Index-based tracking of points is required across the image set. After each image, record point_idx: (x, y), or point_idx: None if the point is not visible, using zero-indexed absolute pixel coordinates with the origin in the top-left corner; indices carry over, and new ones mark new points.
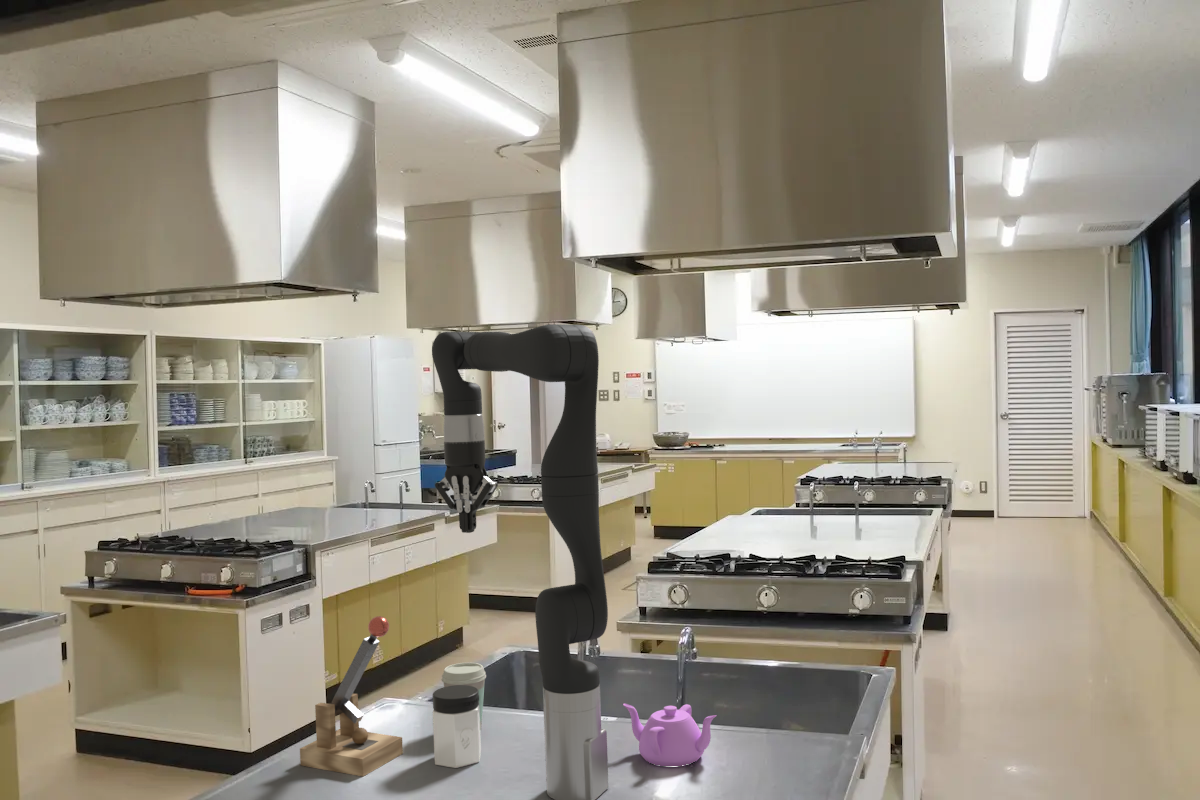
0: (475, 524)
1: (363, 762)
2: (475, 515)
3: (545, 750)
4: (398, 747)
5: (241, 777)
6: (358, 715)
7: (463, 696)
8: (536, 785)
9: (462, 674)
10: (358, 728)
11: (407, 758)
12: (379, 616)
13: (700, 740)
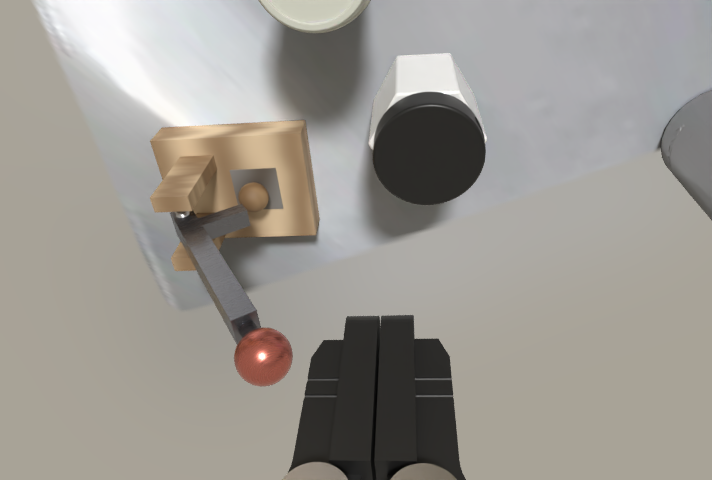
0: (450, 378)
1: (316, 229)
2: (456, 447)
3: (699, 205)
4: (304, 138)
5: (158, 280)
6: (246, 222)
7: (468, 178)
8: (631, 139)
9: (345, 20)
10: (249, 207)
11: (329, 133)
12: (259, 377)
13: None
